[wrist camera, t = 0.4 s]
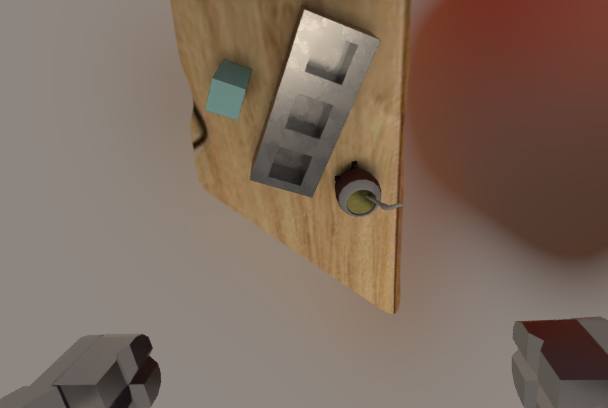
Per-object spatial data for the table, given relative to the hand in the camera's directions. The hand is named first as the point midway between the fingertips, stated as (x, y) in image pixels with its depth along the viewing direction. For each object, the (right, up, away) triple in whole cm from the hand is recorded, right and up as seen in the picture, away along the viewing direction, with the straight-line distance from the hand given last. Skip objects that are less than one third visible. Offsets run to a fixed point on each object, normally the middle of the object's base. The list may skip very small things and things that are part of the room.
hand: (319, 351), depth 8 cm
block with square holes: (0, +18, +47) cm, 50 cm away
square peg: (-10, +21, +44) cm, 50 cm away
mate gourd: (+8, +8, +54) cm, 56 cm away
